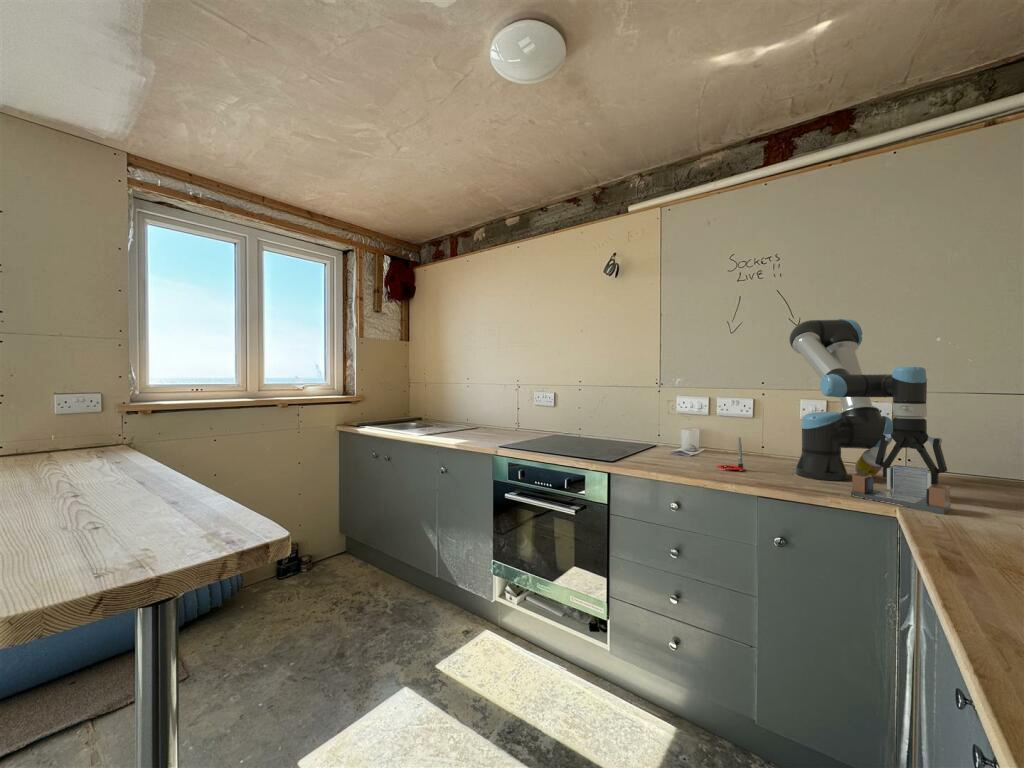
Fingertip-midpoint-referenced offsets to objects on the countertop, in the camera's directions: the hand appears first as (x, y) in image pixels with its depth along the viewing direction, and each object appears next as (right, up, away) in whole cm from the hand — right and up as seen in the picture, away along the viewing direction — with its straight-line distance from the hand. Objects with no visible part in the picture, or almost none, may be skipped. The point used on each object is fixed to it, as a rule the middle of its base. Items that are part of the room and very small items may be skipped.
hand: (909, 491), depth 128 cm
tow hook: (-35, -1, +38) cm, 52 cm away
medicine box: (+1, -2, +1) cm, 2 cm away
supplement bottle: (+9, +1, +27) cm, 29 cm away
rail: (-9, -2, -6) cm, 11 cm away
